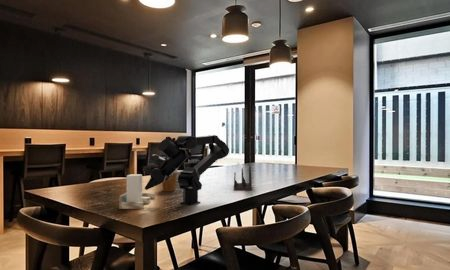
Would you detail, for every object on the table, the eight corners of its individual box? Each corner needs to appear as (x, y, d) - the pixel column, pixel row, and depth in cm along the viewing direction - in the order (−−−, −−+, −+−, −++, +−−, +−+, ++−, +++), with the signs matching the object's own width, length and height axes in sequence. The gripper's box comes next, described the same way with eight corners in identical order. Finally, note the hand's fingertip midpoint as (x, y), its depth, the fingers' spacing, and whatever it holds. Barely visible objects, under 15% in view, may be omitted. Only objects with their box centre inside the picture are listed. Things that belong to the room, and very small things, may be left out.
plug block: (141, 204, 126) (142, 174, 126) (138, 207, 121) (138, 175, 121) (130, 204, 126) (130, 174, 126) (126, 207, 121) (126, 175, 121)
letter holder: (250, 185, 182) (250, 162, 182) (251, 190, 162) (251, 165, 162) (234, 185, 182) (234, 162, 182) (233, 190, 162) (233, 165, 163)
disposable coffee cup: (158, 191, 157) (158, 169, 157) (162, 188, 166) (162, 167, 166) (175, 192, 156) (175, 169, 157) (179, 189, 166) (179, 167, 166)
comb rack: (155, 198, 139) (155, 187, 139) (142, 208, 118) (142, 196, 118) (135, 198, 139) (135, 187, 139) (119, 208, 118) (119, 196, 118)
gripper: (166, 147, 133) (141, 171, 133) (155, 148, 115) (127, 176, 115) (183, 164, 133) (159, 188, 133) (175, 168, 114) (147, 196, 114)
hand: (148, 187), depth 124 cm, fingers open, 9 cm apart
